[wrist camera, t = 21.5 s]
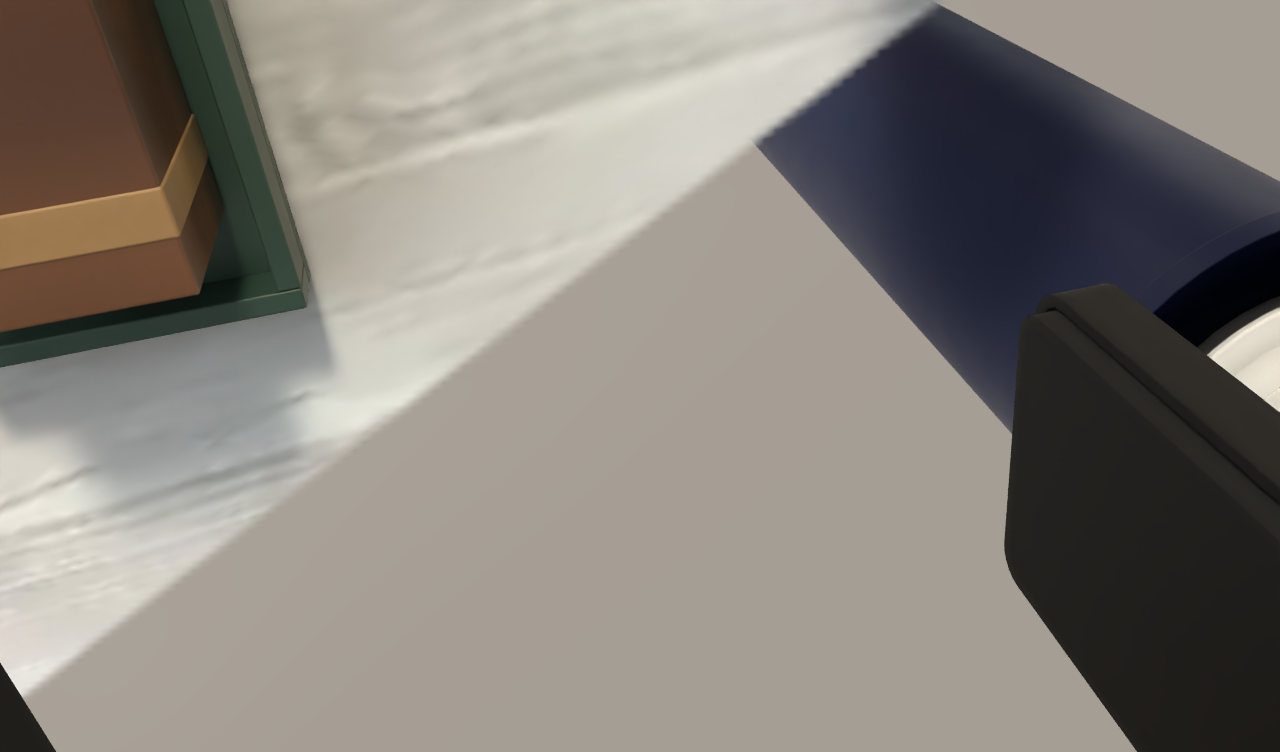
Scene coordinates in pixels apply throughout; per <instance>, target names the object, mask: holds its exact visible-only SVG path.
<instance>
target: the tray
mask: <svg viewBox="0 0 1280 752" xmlns="http://www.w3.org/2000/svg"><path fill="white" fill-rule="evenodd" d="M153 3H154V6H155V8H156V11H157V14H158V17H159V20H160V23H161V26H162V29H163V32H164V35H165V38H166V40H167V43H168V46H169V49H170V52H171V55H172V58H173V61H174V64H175V67H176V70H177V72H178V75H179V78H180V81H181V84H182V87H183V90H184V93H185V96H186V99H187V102H188V105H189V107H190V110H191V113H192V114H194V116H195V117H196V120H197V123H198V126H199V129H200V132H201V135H202V138H203V141H204V144H205V147H206V149H207V152H208V163H209V166H210V169H211V171H212V174H213V177H214V180H215V183H216V186H217V189H218V192H219V195H220V198H221V201H222V203H223V206H224V211H223V214H222V218H221V221H220V224H219V228H218V231H217V235H216V238H215V242H214V245H213V249H212V252H211V255H210V259H209V262H208V266H207V269H206V273H205V276H204V280H203V283H202V286H201V290H200V293H199V294H197V295H193V296H188V297H183V298H178V299H172V300H167V301H162V302H157V303H151V304H146V305H141V306H136V307H130V308H125V309H120V310H115V311H109V312H104V313H99V314H94V315H89V316H83V317H78V318H73V319H68V320H62V321H57V322H52V323H47V324H41V325H36V326H31V327H26V328H21V329H15V330H10V331H5V332H0V367H5V366H10V365H15V364H21V363H26V362H31V361H36V360H41V359H46V358H51V357H56V356H62V355H67V354H72V353H77V352H82V351H87V350H92V349H97V348H103V347H108V346H113V345H118V344H123V343H128V342H133V341H139V340H144V339H149V338H154V337H159V336H164V335H169V334H174V333H180V332H185V331H190V330H195V329H200V328H205V327H210V326H215V325H221V324H226V323H231V322H236V321H241V320H246V319H251V318H257V317H262V316H267V315H272V314H277V313H282V312H287V311H292V310H298V309H303V308H306V307H307V301H308V290H309V281H310V272H309V269H308V266H307V262H306V259H305V256H304V253H303V249H302V246H301V243H300V240H299V237H298V233H297V230H296V227H295V224H294V220H293V217H292V214H291V211H290V207H289V204H288V201H287V198H286V194H285V191H284V188H283V185H282V182H281V178H280V175H279V172H278V169H277V165H276V162H275V159H274V156H273V152H272V149H271V146H270V143H269V140H268V136H267V133H266V130H265V127H264V123H263V120H262V117H261V114H260V110H259V107H258V104H257V101H256V97H255V94H254V91H253V88H252V85H251V81H250V78H249V75H248V72H247V68H246V65H245V62H244V59H243V55H242V52H241V49H240V46H239V43H238V39H237V36H236V33H235V30H234V26H233V23H232V20H231V17H230V13H229V10H228V7H227V4H226V0H153Z"/></svg>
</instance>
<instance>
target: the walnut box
mask: <svg viewBox="0 0 1280 752" xmlns="http://www.w3.org/2000/svg"><path fill="white" fill-rule="evenodd" d="M223 211H224V206H223V203H222V201H221V198H220V195H219V192H218V189H217V186H216V183H215V180H214V177H213V174H212V171H211V169H210V166H209V163H208V152H207V149H206V147H205V144H204V141H203V138H202V135H201V132H200V129H199V126H198V123H197V120H196V117H195V116H194V114H192V113H191V110H190V107H189V105H188V102H187V99H186V96H185V93H184V90H183V87H182V84H181V81H180V78H179V75H178V72H177V70H176V67H175V64H174V61H173V58H172V55H171V52H170V49H169V46H168V43H167V40H166V38H165V35H164V32H163V29H162V26H161V23H160V20H159V17H158V14H157V11H156V8H155V6H154V3H153V0H0V332H5V331H10V330H15V329H21V328H26V327H31V326H36V325H41V324H47V323H52V322H57V321H62V320H68V319H73V318H78V317H83V316H89V315H94V314H99V313H104V312H109V311H115V310H120V309H125V308H130V307H136V306H141V305H146V304H151V303H157V302H162V301H167V300H172V299H178V298H183V297H188V296H193V295H197V294H199V293H200V290H201V286H202V283H203V280H204V276H205V273H206V269H207V266H208V262H209V259H210V255H211V252H212V249H213V245H214V242H215V238H216V235H217V231H218V228H219V224H220V221H221V218H222V214H223Z"/></svg>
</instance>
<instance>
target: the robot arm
mask: <svg viewBox="0 0 1280 752" xmlns="http://www.w3.org/2000/svg"><path fill="white" fill-rule="evenodd" d="M1004 542H1005V543H1004V547H1005V555H1006V561H1007V564H1008V567H1009V570H1010V572H1011V575H1012V577H1013V579H1014V581H1015V583H1016V584H1017V586H1018V587H1019V589H1020V590H1021V591H1022V593H1023V594H1024V596H1025V597H1026V598H1027V600H1028V601H1029V603H1030V604H1031V605H1032V607H1033V608H1034V609H1035V611H1036V612H1037V614H1038V615H1039V616H1040V618H1041V619H1042V621H1043V622H1044V623H1045V625H1046V626H1047V627H1048V629H1049V630H1050V632H1051V633H1052V634H1053V636H1054V637H1055V639H1056V640H1057V641H1058V643H1059V644H1060V645H1061V647H1062V648H1063V650H1064V651H1065V652H1066V654H1067V655H1068V657H1069V658H1070V659H1071V661H1072V662H1073V663H1074V665H1075V666H1076V668H1077V669H1078V670H1079V672H1080V673H1081V674H1082V676H1083V677H1084V678H1085V680H1086V682H1087V683H1088V684H1089V686H1090V687H1091V688H1092V690H1093V691H1094V692H1095V694H1096V695H1097V697H1098V698H1099V699H1100V701H1101V702H1102V704H1103V705H1104V706H1105V708H1106V709H1107V711H1108V712H1109V713H1110V715H1111V716H1112V717H1113V719H1114V720H1115V722H1116V723H1117V724H1118V726H1119V727H1120V728H1121V730H1122V731H1123V732H1124V734H1125V736H1126V737H1127V738H1128V739H1129V741H1130V742H1131V744H1132V745H1133V747H1134V748H1135V749H1136V751H1137V752H1280V296H1278V297H1276V298H1273V299H1270V300H1268V301H1266V302H1264V303H1262V304H1260V305H1258V306H1256V307H1254V308H1252V309H1250V310H1248V311H1246V312H1244V313H1242V314H1240V315H1239V316H1237V317H1236V318H1234V319H1233V320H1231V321H1230V322H1229V323H1227V324H1226V325H1224V326H1223V327H1221V328H1220V329H1218V330H1217V331H1215V332H1214V333H1213V334H1212V335H1210V336H1209V337H1208V338H1207V339H1206V340H1205V341H1204V342H1202V343H1201V344H1200V345H1199V346H1198V347H1197V348H1196V347H1195V346H1194V345H1193V344H1191V343H1190V342H1189V341H1187V340H1186V339H1185V338H1184V337H1182V336H1181V335H1180V334H1178V333H1177V332H1176V331H1175V330H1173V329H1172V328H1171V327H1169V326H1168V325H1167V324H1166V323H1164V322H1163V321H1162V320H1160V319H1159V318H1158V317H1157V316H1155V315H1154V314H1153V313H1151V312H1150V311H1149V310H1147V309H1146V308H1145V307H1144V306H1142V305H1141V304H1140V303H1138V302H1137V301H1136V300H1135V299H1133V298H1132V297H1131V296H1129V295H1128V294H1127V293H1126V292H1124V291H1123V290H1122V289H1120V288H1119V287H1117V286H1115V285H1113V284H1100V285H1095V286H1090V287H1086V288H1081V289H1076V290H1071V291H1067V292H1062V293H1057V294H1052V295H1048V296H1046V297H1045V298H1043V299H1042V300H1041V301H1040V303H1039V305H1038V307H1037V310H1036V315H1031V316H1028V317H1027V318H1025V319H1024V321H1023V323H1022V325H1021V330H1020V337H1019V350H1018V364H1017V378H1016V391H1015V405H1014V419H1013V432H1012V446H1011V459H1010V473H1009V488H1008V501H1007V514H1006V527H1005V541H1004ZM0 752H56V751H55V749H54V748H53V746H52V745H51V743H50V741H49V740H48V738H47V736H46V735H45V733H44V732H43V730H42V728H41V727H40V725H39V724H38V722H37V721H36V719H35V717H34V716H33V714H32V713H31V711H30V709H29V708H28V706H27V705H26V703H25V701H24V700H23V698H22V697H21V695H20V693H19V692H18V690H17V689H16V687H15V685H14V684H13V682H12V681H11V679H10V678H9V676H8V674H7V673H6V671H5V670H4V668H3V666H2V665H1V663H0Z"/></svg>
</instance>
